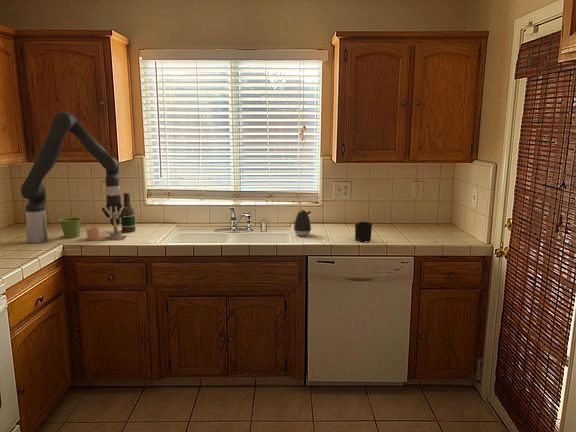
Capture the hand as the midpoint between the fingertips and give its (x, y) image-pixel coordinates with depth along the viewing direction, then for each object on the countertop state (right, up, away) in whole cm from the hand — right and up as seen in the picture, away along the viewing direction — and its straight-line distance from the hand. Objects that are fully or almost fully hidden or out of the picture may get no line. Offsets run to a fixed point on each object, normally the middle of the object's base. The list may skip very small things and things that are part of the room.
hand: (115, 224), depth 256 cm
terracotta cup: (-12, -8, 0) cm, 14 cm away
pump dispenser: (+105, -7, +17) cm, 107 cm away
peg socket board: (-6, -9, +1) cm, 10 cm away
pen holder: (+139, -10, +5) cm, 140 cm away
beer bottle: (+1, -6, +19) cm, 20 cm away
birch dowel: (0, -4, +1) cm, 4 cm away
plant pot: (-26, -8, +4) cm, 28 cm away
